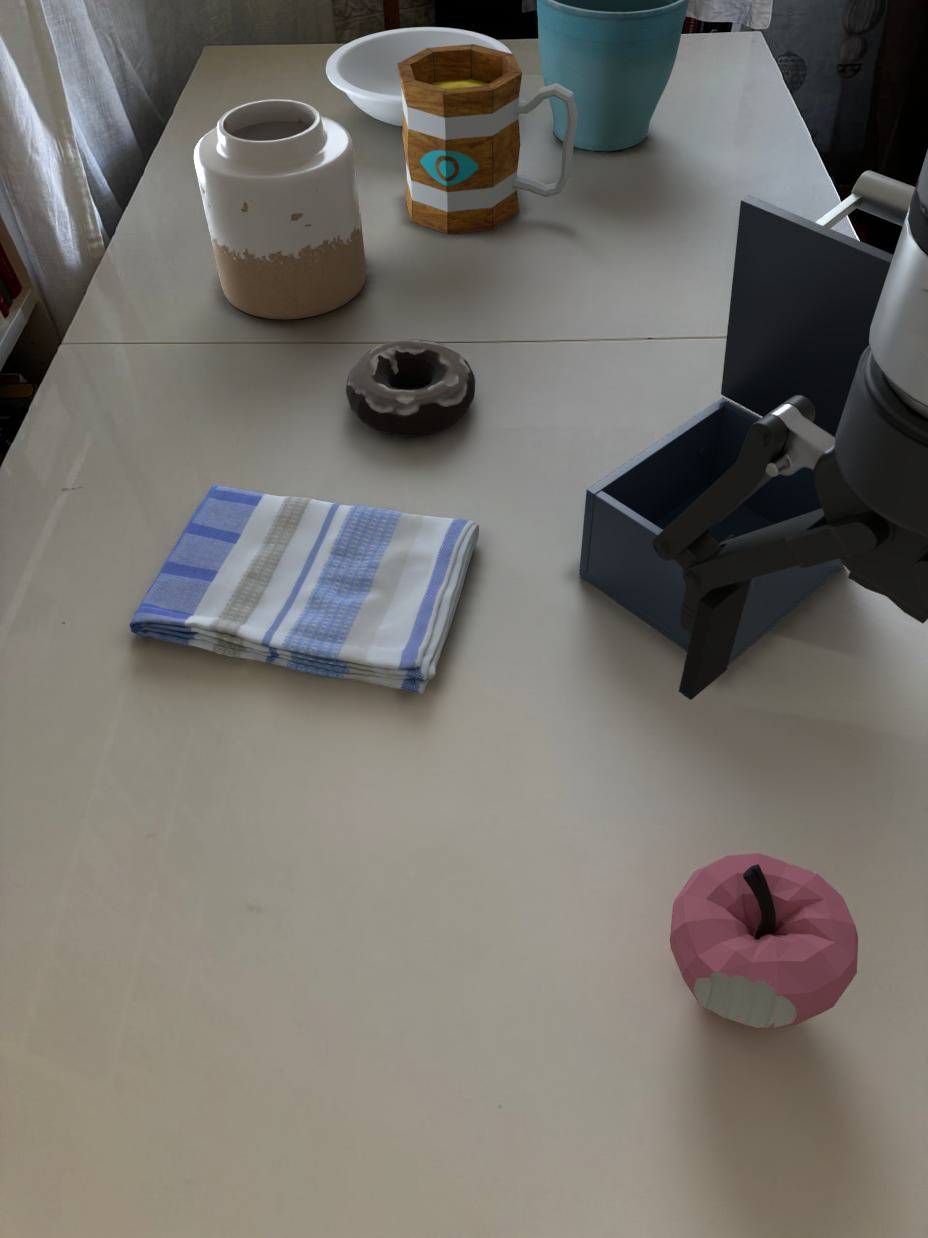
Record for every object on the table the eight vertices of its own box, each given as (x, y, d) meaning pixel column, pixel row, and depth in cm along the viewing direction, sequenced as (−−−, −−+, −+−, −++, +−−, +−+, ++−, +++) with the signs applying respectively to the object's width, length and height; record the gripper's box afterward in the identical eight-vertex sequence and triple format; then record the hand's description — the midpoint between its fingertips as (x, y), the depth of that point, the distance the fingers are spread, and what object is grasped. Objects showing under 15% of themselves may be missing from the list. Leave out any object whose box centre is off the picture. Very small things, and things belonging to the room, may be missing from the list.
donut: (491, 378, 98) (491, 341, 95) (452, 455, 90) (451, 418, 87) (375, 358, 100) (372, 322, 97) (329, 432, 93) (323, 395, 90)
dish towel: (432, 704, 72) (430, 679, 70) (124, 645, 77) (114, 620, 74) (488, 536, 83) (488, 510, 81) (217, 493, 88) (210, 467, 86)
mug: (389, 228, 117) (378, 89, 106) (420, 173, 126) (413, 39, 114) (561, 245, 114) (569, 103, 102) (581, 188, 122) (590, 51, 111)
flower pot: (685, 111, 136) (705, -36, 123) (659, 173, 124) (678, 17, 112) (551, 96, 140) (557, -48, 127) (514, 155, 128) (516, 3, 116)
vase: (396, 273, 110) (383, 112, 98) (293, 338, 103) (265, 172, 90) (296, 230, 117) (272, 74, 104) (192, 288, 109) (153, 126, 97)
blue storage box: (718, 674, 74) (740, 590, 67) (578, 575, 80) (585, 489, 74) (844, 565, 80) (875, 479, 74) (705, 482, 87) (722, 396, 81)
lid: (930, 279, 60) (1025, 197, 64) (740, 200, 67) (836, 130, 70) (874, 477, 73) (955, 400, 77) (720, 394, 80) (801, 327, 84)
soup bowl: (381, 67, 147) (377, 17, 142) (539, 91, 141) (541, 39, 136) (298, 138, 133) (290, 84, 128) (470, 168, 126) (469, 112, 121)
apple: (635, 1011, 58) (656, 933, 50) (687, 884, 63) (712, 796, 56) (805, 1092, 55) (854, 1022, 47) (845, 951, 60) (895, 868, 52)
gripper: (597, 260, 35) (564, 655, 51) (1427, 684, 23) (1042, 1031, 39) (735, 187, 39) (663, 580, 55) (1527, 523, 26) (1134, 905, 42)
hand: (821, 768), depth 47 cm, fingers open, 13 cm apart
